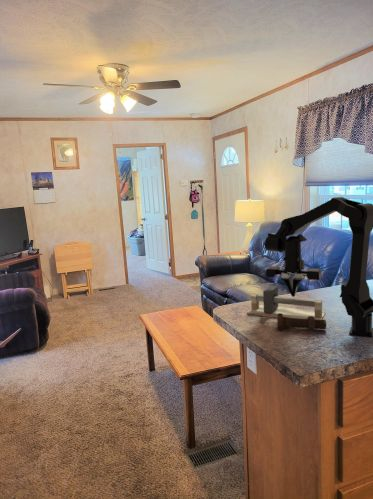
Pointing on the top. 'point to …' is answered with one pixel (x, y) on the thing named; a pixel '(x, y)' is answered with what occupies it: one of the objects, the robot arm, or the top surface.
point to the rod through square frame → (287, 312)
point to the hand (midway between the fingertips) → (293, 296)
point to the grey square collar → (270, 299)
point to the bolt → (300, 323)
